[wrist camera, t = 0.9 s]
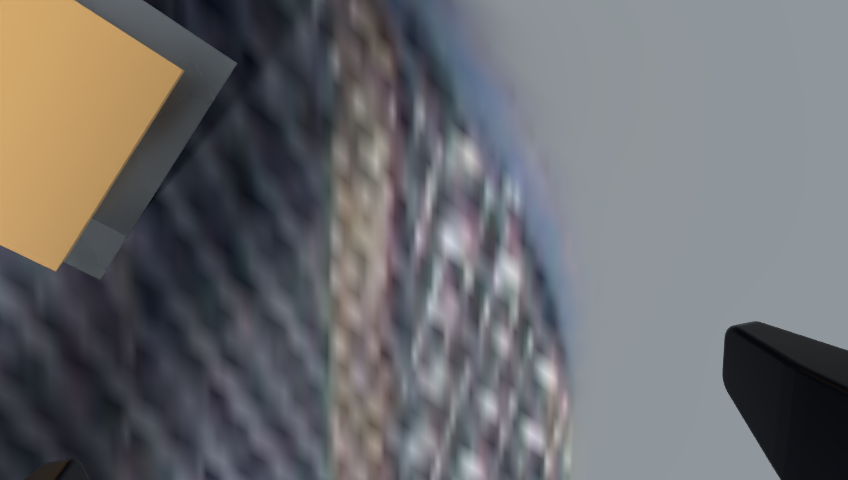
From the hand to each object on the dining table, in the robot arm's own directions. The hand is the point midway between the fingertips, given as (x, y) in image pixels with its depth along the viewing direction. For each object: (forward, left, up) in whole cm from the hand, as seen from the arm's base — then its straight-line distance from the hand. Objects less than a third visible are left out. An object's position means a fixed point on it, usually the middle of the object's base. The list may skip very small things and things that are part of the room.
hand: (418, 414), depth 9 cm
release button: (0, +7, -11) cm, 13 cm away
